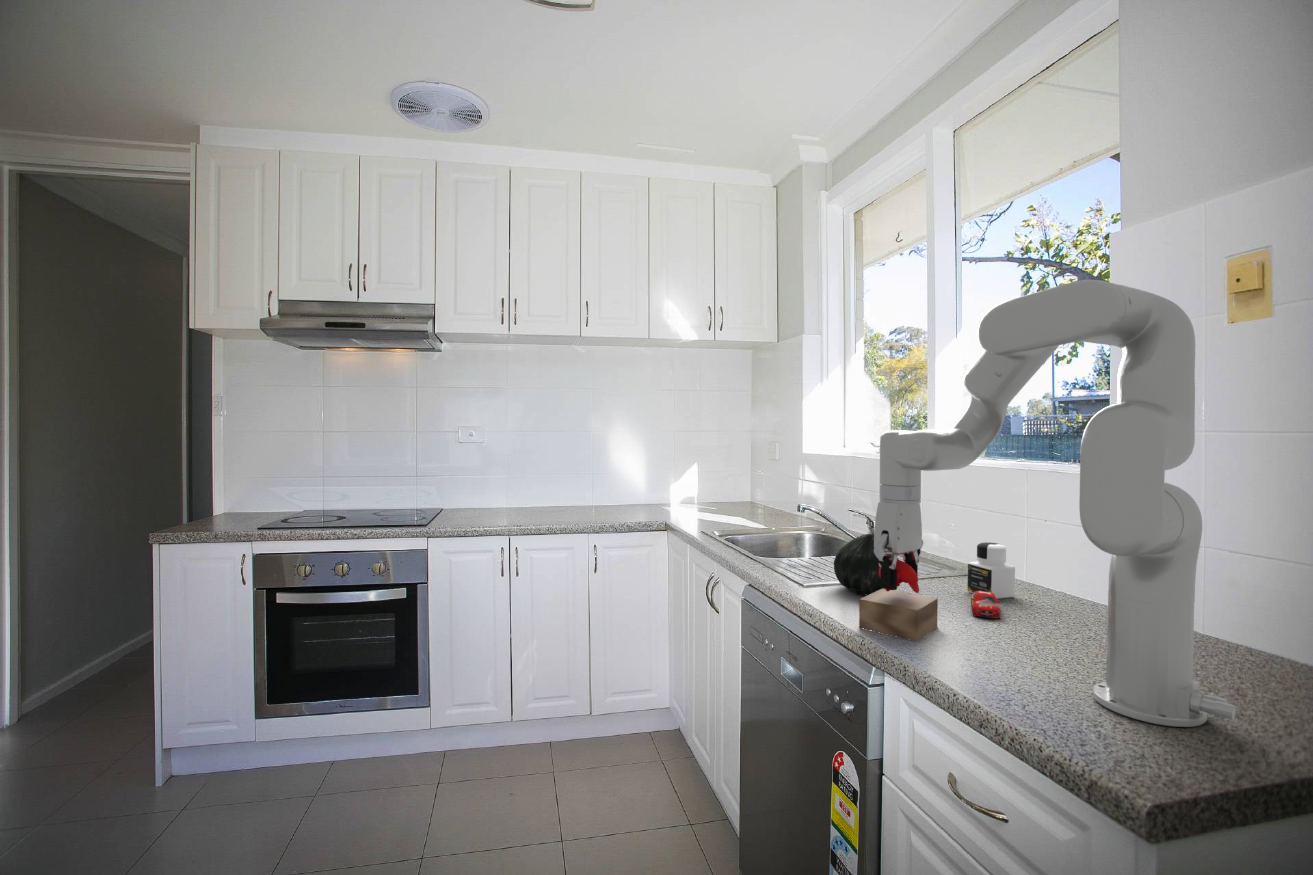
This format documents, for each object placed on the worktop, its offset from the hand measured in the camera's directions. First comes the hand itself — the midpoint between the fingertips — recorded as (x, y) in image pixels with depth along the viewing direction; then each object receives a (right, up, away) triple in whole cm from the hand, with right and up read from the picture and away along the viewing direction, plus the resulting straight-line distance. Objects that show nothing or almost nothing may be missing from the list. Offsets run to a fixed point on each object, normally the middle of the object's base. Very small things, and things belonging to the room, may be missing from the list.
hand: (899, 585), depth 124 cm
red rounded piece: (0, -1, 0) cm, 1 cm away
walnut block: (0, -9, 0) cm, 9 cm away
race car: (+23, -9, +12) cm, 27 cm away
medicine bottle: (+31, -8, +25) cm, 41 cm away
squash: (+3, -8, +27) cm, 28 cm away
